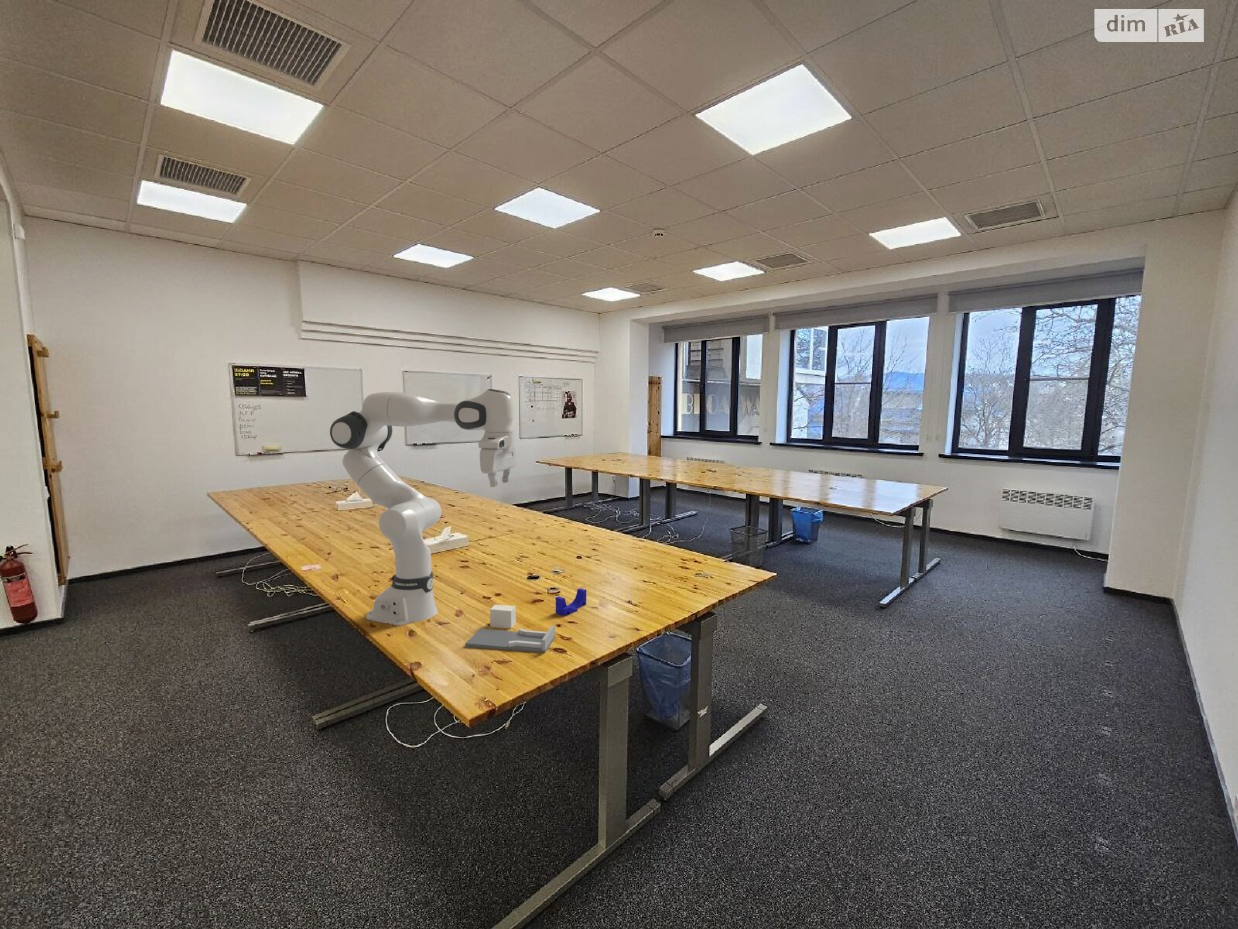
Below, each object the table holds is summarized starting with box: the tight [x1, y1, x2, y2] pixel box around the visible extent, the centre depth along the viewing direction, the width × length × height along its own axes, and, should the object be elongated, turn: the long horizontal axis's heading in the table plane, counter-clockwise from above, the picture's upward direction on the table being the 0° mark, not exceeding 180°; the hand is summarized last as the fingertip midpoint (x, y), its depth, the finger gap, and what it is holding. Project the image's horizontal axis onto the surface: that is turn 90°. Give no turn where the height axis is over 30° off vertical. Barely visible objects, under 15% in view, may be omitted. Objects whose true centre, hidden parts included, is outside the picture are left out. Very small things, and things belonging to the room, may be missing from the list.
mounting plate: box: [464, 625, 556, 654], centre depth 148 cm, size 24×10×4 cm, turn 81°
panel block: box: [489, 604, 517, 629], centre depth 160 cm, size 7×4×6 cm, turn 81°
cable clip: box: [555, 587, 587, 617], centre depth 173 cm, size 12×4×6 cm, turn 141°
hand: (499, 484), depth 159 cm, fingers open, 8 cm apart
